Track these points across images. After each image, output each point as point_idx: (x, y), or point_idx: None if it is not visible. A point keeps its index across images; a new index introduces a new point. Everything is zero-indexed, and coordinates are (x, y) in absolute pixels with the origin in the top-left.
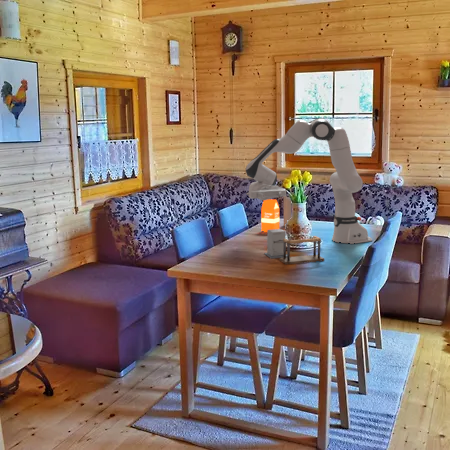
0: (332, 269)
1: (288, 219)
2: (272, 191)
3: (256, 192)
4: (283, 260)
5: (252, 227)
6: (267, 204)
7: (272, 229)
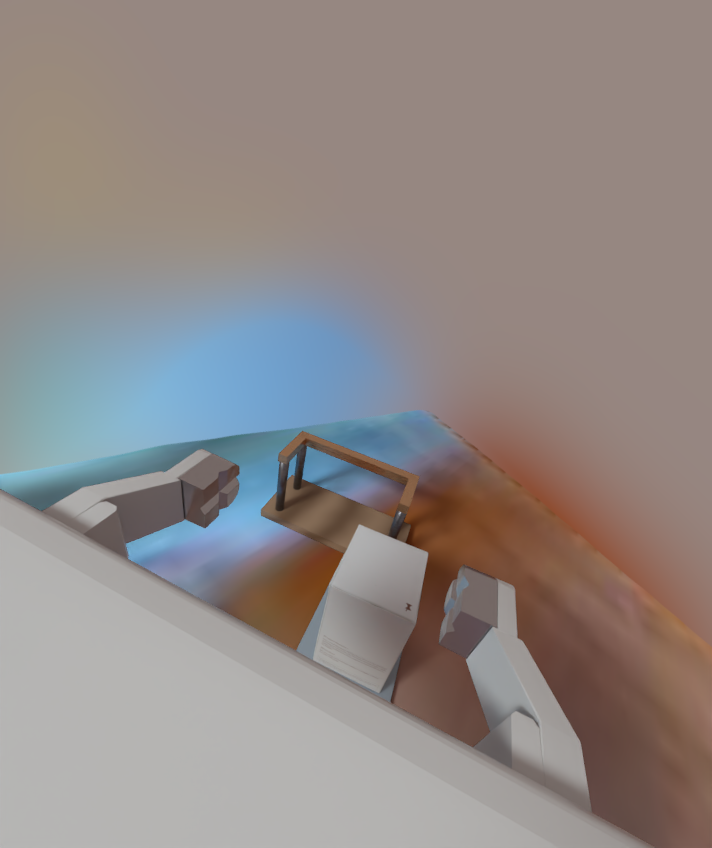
0: (343, 442)
1: None
2: (182, 592)
3: (638, 840)
4: (405, 542)
5: None
6: None
7: (387, 600)
